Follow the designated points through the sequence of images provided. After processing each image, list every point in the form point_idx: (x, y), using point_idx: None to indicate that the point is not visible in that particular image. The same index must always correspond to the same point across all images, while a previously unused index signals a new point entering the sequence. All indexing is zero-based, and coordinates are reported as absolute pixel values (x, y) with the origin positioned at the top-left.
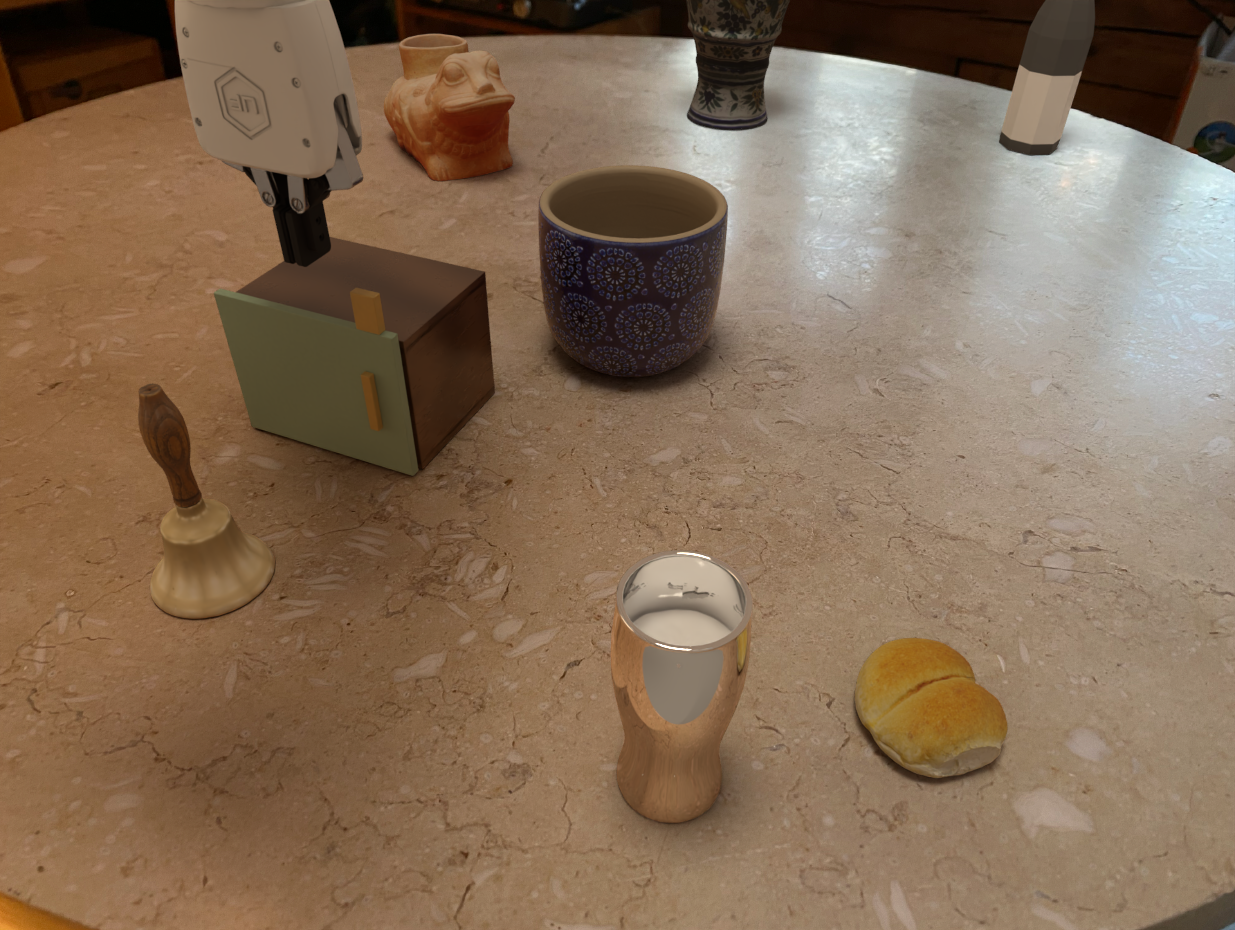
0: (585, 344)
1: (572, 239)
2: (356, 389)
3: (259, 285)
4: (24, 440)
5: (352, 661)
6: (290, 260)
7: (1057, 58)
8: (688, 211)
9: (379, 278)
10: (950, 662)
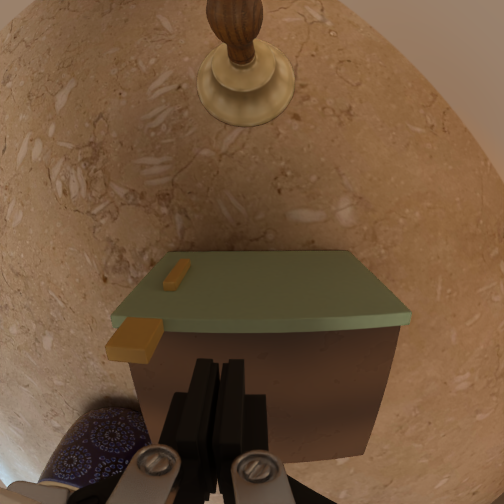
0: (117, 419)
1: None
2: (199, 280)
3: (378, 361)
4: (486, 167)
5: (101, 73)
6: (228, 362)
7: None
8: None
9: None
10: None
